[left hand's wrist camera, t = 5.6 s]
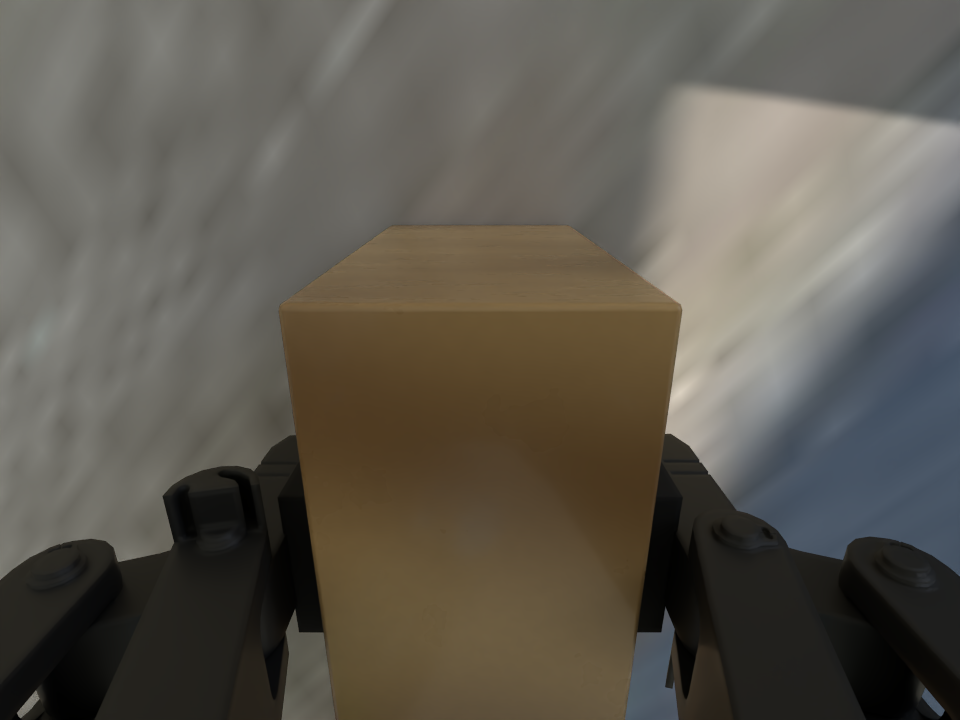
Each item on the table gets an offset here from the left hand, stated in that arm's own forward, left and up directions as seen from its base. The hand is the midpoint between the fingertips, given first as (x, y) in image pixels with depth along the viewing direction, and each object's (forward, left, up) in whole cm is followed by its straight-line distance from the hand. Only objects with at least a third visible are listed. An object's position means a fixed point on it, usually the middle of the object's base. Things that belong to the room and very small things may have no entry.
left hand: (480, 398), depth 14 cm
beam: (+24, +27, -1) cm, 36 cm away
